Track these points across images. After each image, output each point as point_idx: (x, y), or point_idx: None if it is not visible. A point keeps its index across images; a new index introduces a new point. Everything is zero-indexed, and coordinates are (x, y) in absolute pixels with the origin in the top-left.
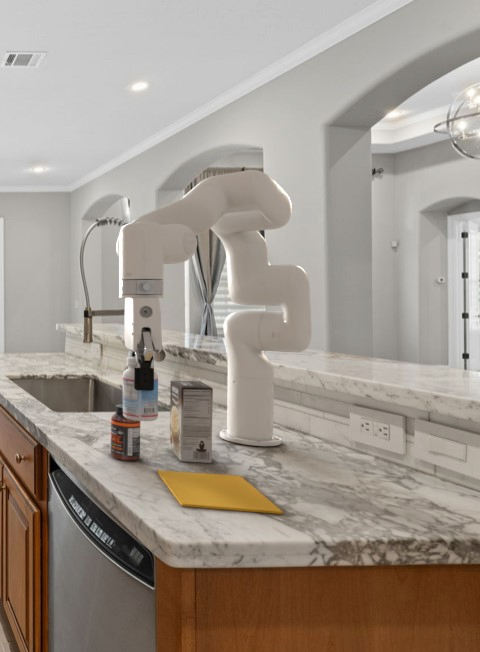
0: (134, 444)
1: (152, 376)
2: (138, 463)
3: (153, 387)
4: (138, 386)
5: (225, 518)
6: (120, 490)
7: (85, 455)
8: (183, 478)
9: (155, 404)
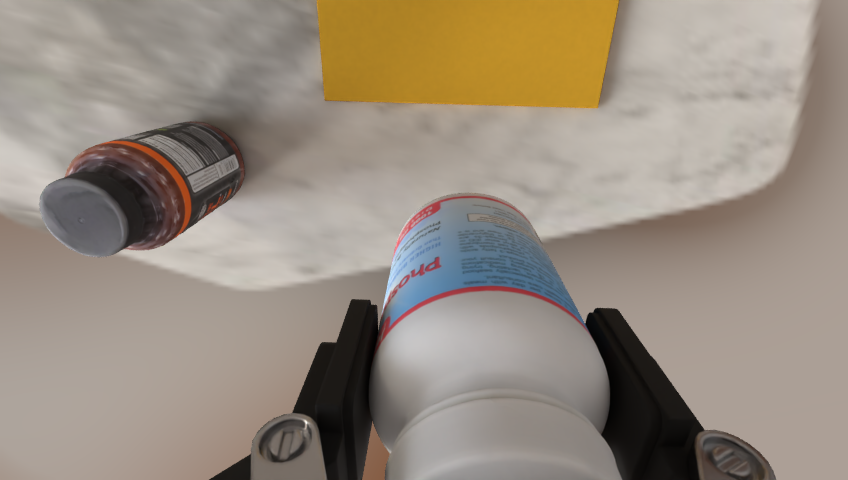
0: (213, 155)
1: (655, 375)
2: (253, 134)
3: (621, 317)
4: None
5: (676, 15)
6: None
7: (231, 262)
8: (386, 38)
9: (536, 240)
